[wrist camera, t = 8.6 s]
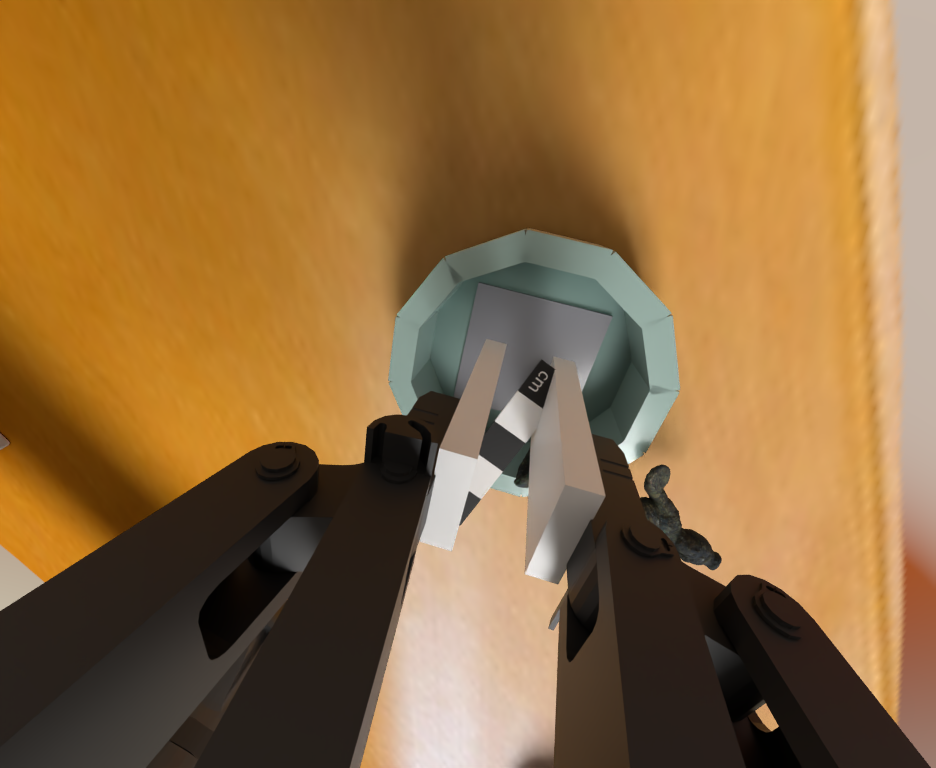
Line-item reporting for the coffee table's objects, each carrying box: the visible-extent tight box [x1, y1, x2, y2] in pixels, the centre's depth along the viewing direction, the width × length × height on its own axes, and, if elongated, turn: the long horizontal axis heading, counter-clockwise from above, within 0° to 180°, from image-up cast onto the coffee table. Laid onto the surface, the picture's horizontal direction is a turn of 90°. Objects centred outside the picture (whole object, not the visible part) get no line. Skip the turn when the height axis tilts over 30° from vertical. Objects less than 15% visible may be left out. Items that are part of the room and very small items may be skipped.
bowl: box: [388, 228, 680, 497], centre depth 16 cm, size 11×11×4 cm
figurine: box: [459, 359, 722, 570], centre depth 14 cm, size 6×4×12 cm
